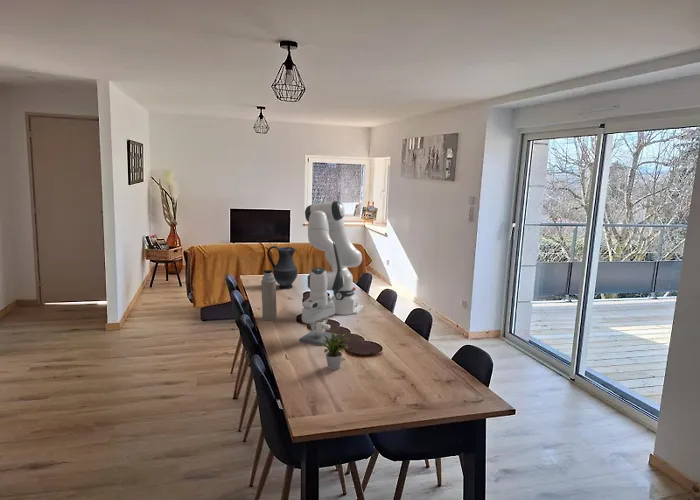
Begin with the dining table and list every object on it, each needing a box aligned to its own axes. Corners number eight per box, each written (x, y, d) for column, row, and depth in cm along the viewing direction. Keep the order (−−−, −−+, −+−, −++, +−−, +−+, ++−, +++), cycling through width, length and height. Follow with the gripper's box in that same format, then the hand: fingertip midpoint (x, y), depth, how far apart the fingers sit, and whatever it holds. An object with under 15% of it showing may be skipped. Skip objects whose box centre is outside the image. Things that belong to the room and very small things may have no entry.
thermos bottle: (278, 316, 280) (277, 269, 275) (273, 320, 273) (272, 272, 268) (265, 315, 282) (264, 268, 277) (260, 320, 274) (258, 271, 269)
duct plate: (314, 332, 254) (313, 318, 252) (337, 336, 247) (337, 322, 246) (299, 341, 241) (299, 326, 240) (323, 345, 235) (323, 331, 234)
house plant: (337, 378, 200) (337, 341, 197) (310, 371, 207) (310, 334, 204) (355, 366, 211) (355, 330, 209) (329, 359, 219) (329, 325, 216)
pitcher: (296, 290, 337) (295, 248, 331) (266, 290, 337) (264, 248, 332) (299, 284, 354) (298, 243, 348) (270, 284, 354) (269, 243, 349)
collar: (310, 330, 243) (309, 321, 242) (319, 327, 248) (319, 318, 247) (324, 335, 237) (324, 325, 236) (333, 332, 241) (333, 322, 240)
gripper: (328, 295, 250) (328, 321, 253) (299, 303, 235) (299, 331, 238) (337, 297, 246) (337, 323, 249) (308, 306, 231) (308, 334, 234)
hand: (319, 327), depth 243 cm, fingers closed on collar, 6 cm apart
